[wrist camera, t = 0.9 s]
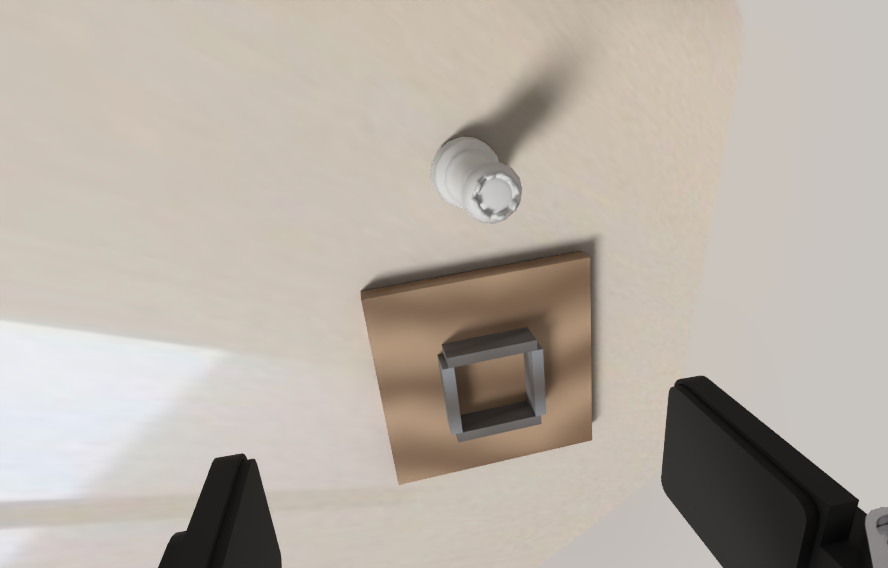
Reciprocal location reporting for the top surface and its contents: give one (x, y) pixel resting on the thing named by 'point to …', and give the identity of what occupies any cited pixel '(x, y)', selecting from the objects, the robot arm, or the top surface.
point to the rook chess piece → (475, 180)
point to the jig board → (483, 363)
